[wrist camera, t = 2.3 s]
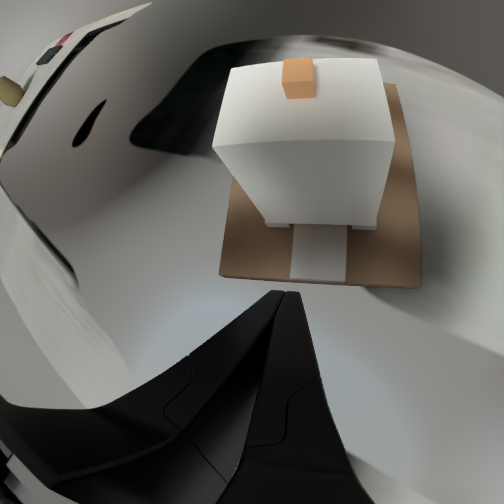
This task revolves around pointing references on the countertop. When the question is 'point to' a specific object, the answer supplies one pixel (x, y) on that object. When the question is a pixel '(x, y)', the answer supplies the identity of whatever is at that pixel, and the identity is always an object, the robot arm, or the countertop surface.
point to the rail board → (334, 234)
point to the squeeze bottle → (10, 92)
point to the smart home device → (49, 55)
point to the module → (308, 139)
